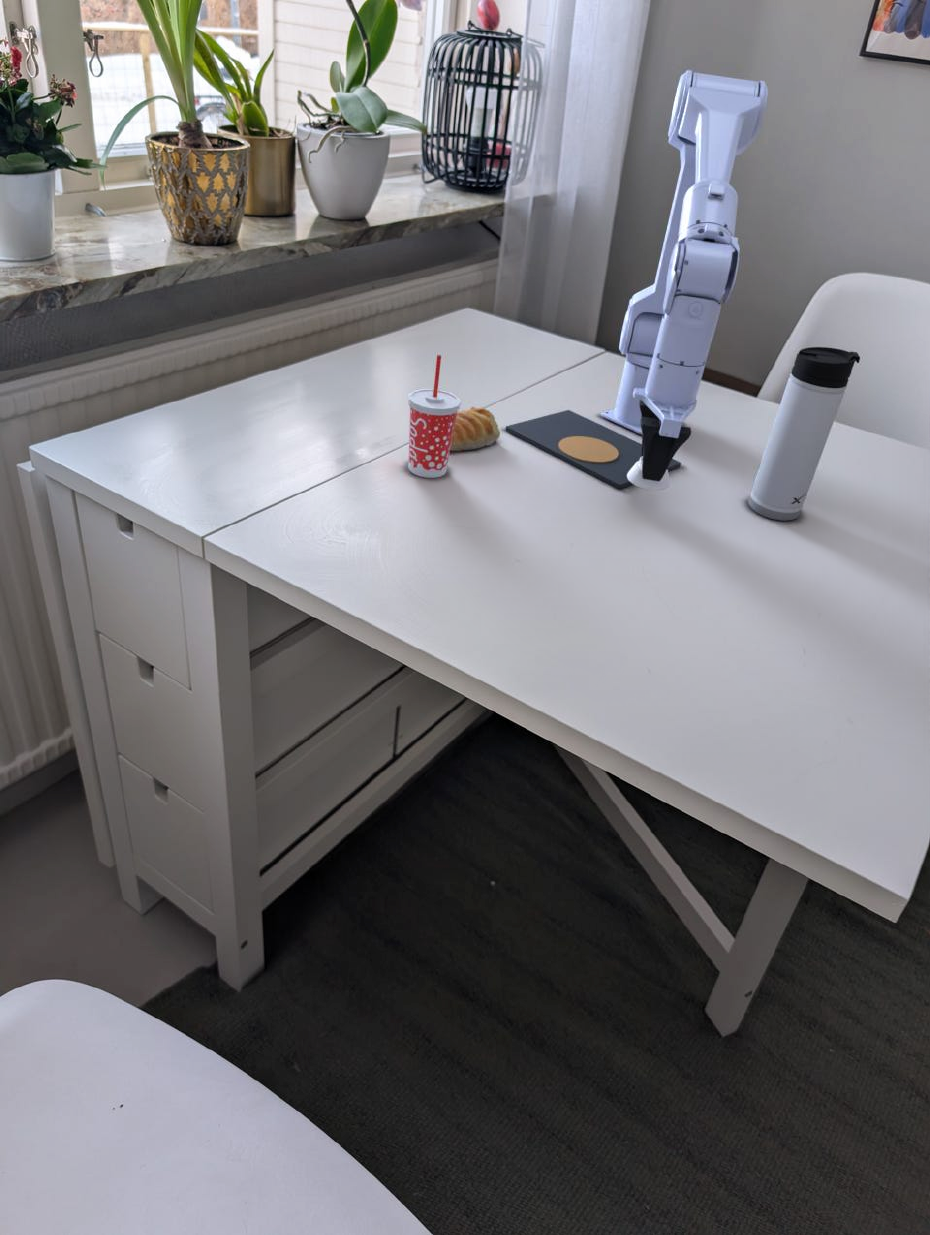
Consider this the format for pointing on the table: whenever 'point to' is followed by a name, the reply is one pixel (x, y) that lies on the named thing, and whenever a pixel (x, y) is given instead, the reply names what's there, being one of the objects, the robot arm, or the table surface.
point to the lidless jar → (638, 480)
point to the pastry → (474, 429)
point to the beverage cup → (431, 428)
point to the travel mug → (801, 431)
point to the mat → (584, 445)
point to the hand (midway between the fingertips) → (650, 471)
